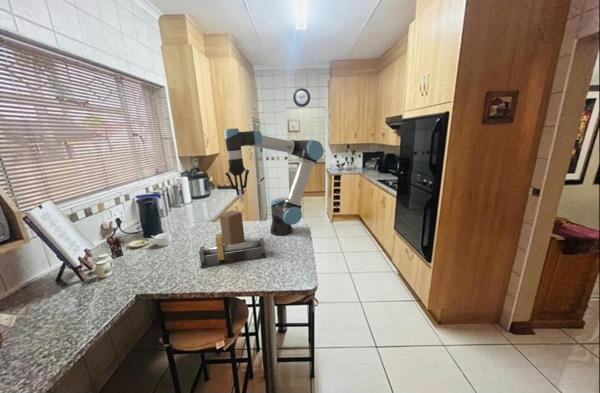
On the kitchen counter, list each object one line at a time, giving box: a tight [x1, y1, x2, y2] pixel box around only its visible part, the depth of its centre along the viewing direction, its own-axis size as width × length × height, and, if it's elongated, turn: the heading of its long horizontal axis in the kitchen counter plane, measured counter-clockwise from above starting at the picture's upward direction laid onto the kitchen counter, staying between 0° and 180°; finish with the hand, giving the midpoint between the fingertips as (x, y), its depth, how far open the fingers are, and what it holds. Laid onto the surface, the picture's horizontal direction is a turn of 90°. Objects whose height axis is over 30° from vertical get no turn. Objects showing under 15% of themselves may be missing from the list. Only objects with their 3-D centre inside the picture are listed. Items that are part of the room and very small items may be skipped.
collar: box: [214, 232, 225, 260], centre depth 134 cm, size 3×8×12 cm, turn 15°
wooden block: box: [219, 209, 245, 245], centre depth 154 cm, size 10×10×20 cm
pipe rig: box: [198, 237, 267, 269], centre depth 136 cm, size 34×12×8 cm, turn 105°
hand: (241, 200), depth 139 cm, fingers closed
